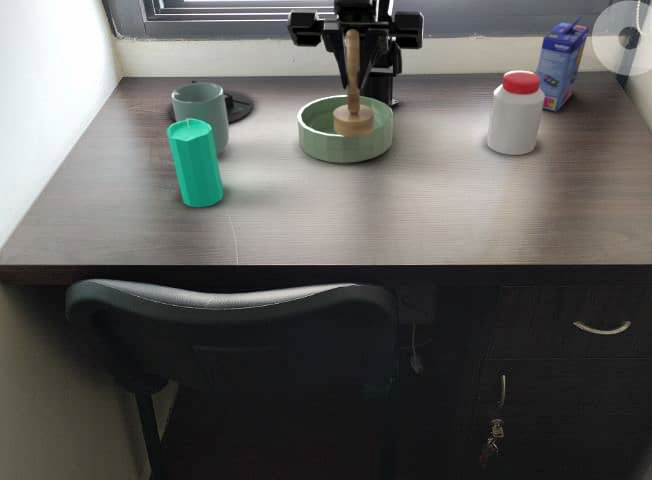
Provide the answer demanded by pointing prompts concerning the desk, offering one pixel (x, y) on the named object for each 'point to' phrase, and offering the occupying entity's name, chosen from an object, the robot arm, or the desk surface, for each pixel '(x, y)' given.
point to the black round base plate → (231, 106)
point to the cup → (204, 109)
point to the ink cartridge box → (560, 62)
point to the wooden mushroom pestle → (353, 96)
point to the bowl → (337, 148)
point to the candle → (195, 162)
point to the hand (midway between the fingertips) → (352, 88)
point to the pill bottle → (516, 113)
